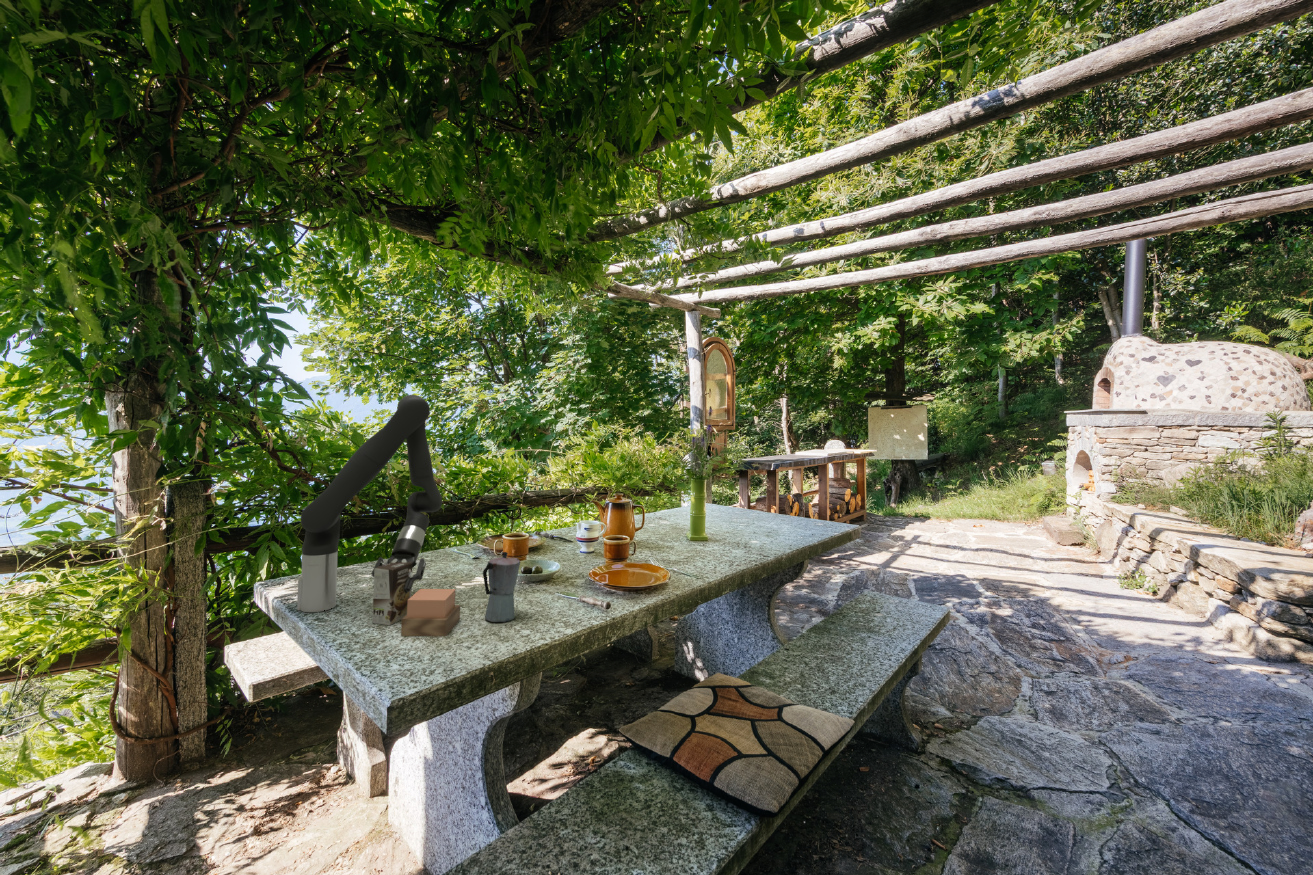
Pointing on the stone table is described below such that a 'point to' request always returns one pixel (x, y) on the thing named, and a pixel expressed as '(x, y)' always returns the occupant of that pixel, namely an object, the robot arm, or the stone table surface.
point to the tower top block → (431, 603)
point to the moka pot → (501, 588)
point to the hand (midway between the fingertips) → (391, 591)
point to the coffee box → (390, 593)
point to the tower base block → (430, 624)
